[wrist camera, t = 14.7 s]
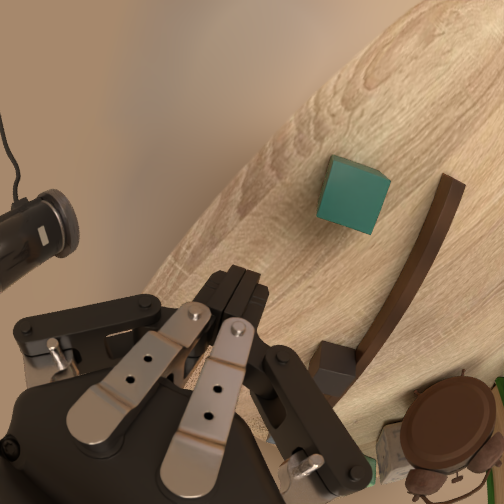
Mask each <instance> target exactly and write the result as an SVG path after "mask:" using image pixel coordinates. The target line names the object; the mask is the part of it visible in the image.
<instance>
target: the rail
mask: <svg viewBox="0 0 504 504" xmlns="http://www.w3.org/2000/svg"><path fill="white" fill-rule="evenodd" d="M465 186H466V185H465V184H463V183H462V182H460V181H458V180H456V179H454V178H452V177H450V176H448V175H446V174H444V173H443V175H442V178H441V181H440V184H439V186H438V189H437V192H436V195H435V197H434V200H433V203H432V205H431V208H430V210H429V213H428V215H427V218H426V220H425V223H424V225H423V227H422V230H421V232H420V234H419V237H418V239H417V241H416V243H415V245H414V248H413V250H412V252H411V254H410V256H409V258H408V260H407V262H406V264H405V266H404V268H403V270H402V272H401V274H400V276H399V278H398V280H397V282H396V284H395V286H394V287H393V289H392V291H391V293H390V295H389V297H388V298H387V300H386V302H385V304H384V305H383V307H382V309H381V311H380V312H379V314H378V316H377V317H376V319H375V321H374V322H373V324H372V325H371V327H370V329H369V330H368V332H367V333H366V335H365V337H364V338H363V340H362V341H361V343H360V344H359V346H358V347H357V349H356V350H355V362H356V377H355V379H354V380H353V381H352V382H351V384H350V385H349V386H348V387H347V388H346V390H345V391H344V392H343V393H342V394H341V396H340V397H335V396H331V395H326V394H323V395H324V397H325V398H326V400H327V401H328V403H329V404H330V406H331V407H332V408H333V407H334V406H335V405H336V403H337V402H338V401H339V400H340V399H341V398H342V397H343V395H344V394H345V393H346V392H347V391H348V390H349V388H350V387H351V386H352V385H353V384H354V382H355V381H356V380H357V379H358V378H359V376H360V375H361V374H362V373H363V371H364V370H365V369H366V367H367V366H368V365H369V364H370V362H371V361H372V360H373V358H374V357H375V356H376V354H377V353H378V351H379V350H380V349H381V347H382V346H383V344H384V343H385V342H386V340H387V339H388V337H389V336H390V334H391V333H392V331H393V330H394V328H395V327H396V325H397V324H398V322H399V321H400V319H401V318H402V316H403V315H404V313H405V311H406V310H407V308H408V307H409V305H410V303H411V302H412V300H413V298H414V296H415V295H416V293H417V291H418V290H419V288H420V286H421V284H422V282H423V281H424V279H425V277H426V275H427V273H428V271H429V269H430V268H431V266H432V264H433V262H434V260H435V258H436V256H437V254H438V252H439V249H440V247H441V245H442V243H443V241H444V239H445V237H446V234H447V232H448V230H449V228H450V225H451V223H452V220H453V218H454V216H455V213H456V211H457V208H458V206H459V203H460V200H461V198H462V195H463V192H464V189H465Z"/></svg>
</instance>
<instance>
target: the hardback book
mask: <svg viewBox="0 0 504 504" xmlns="http://www.w3.org/2000/svg"><path fill="white" fill-rule="evenodd" d="M495 382H496V386H495V387H494V388H493V389H492V390H491V391H492V393H493V395H494V398H495V402H496V423H495V428H494V431H493V434H492V436H493V435H494V434H495V433H497V432H500V433H501V434H502V435H503V436H504V377H498V378H497V379H496V380H495ZM492 436H491V437H492ZM500 461H502V465H501V466H500V467H496V466H495V465H494V466H493V467H492V468H491V471H490V473H489V476H488V478H487V490H488V504H504V452H503V454H502V457H501V459H500ZM487 471H488V470H487ZM487 471H486V473H487Z"/></svg>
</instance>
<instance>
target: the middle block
mask: <svg viewBox="0 0 504 504" xmlns="http://www.w3.org/2000/svg"><path fill="white" fill-rule="evenodd" d="M308 372H309V374H310V375H311V377H312V378H313V380H314V381H315V383H316V384H317V386H318V387H319V389H320V390H321V392H322V393H323V394H326V395H331V396H335V397H340V396H341V394H342V393H343V392H344V391H345V390H346V388H347V387H348V386H349V385H350V384H351V382H352V381H353V380H354V379H355V377H356V362H355V349H351V348H348V347H344V346H340V345H336V344H333V343H329V342H326V341H322V342H321V343H320V345H319V347H318V349H317V351H316V352H315V354H314V356H313V357H312V359H311V361H310V363H309V369H308Z"/></svg>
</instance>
